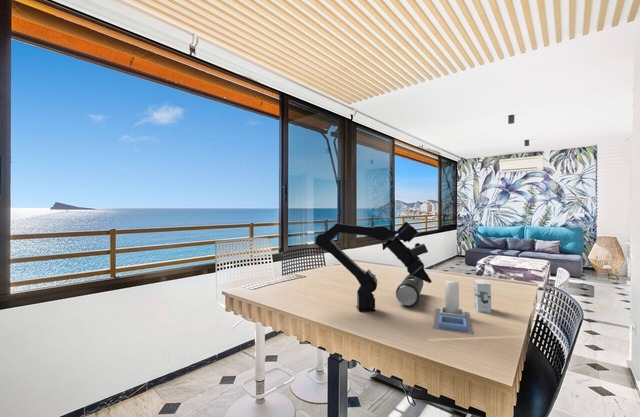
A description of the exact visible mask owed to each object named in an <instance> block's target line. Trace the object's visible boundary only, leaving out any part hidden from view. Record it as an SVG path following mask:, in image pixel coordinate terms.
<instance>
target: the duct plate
mask: <svg viewBox="0 0 640 417" xmlns="http://www.w3.org/2000/svg"><path fill="white" fill-rule="evenodd" d="M472 325H473V324H472V320H471V316H470V312H469V311H465V308H459V314H452V313H445V306H440V308H437V307H436V308H435V314H434V319H433V325H432V329H434V330H439V331H440V330H441V331H446V332H452V333H461V334H467V335H468V334H469V335H474V330H473V326H472Z"/></svg>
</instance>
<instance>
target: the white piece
mask: <svg viewBox="0 0 640 417" xmlns="http://www.w3.org/2000/svg"><path fill="white" fill-rule="evenodd" d="M459 284H460V283H459V281H456V280H445V281H444V294H445V295H444V299H445V302H444V303H445V306H444V307H445V313H452V314H459V309H460V286H459Z"/></svg>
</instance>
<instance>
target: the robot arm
mask: <svg viewBox="0 0 640 417" xmlns="http://www.w3.org/2000/svg"><path fill="white" fill-rule="evenodd" d="M340 233H341V234H342V233H343V234H350V235H358V236H366V237H370V238H372V239H376V240H379V241H385V242H382V244H381V245H382V251H385V250H386V249H388V250H389V251H390V252H391V253H392V254H393V255H394V256H395V258H397V260H399V261H400V262H401V263H402V264H403V266H404V267H405V268H406V270H407V273H408V275H409V274H410V275H412V276H415V277H417V278H419V279H422V280H423V282H426V283H428V284H431V283H432V282H433V280H432V279H431V278H430V276H429V274H428V273H427V271H426V270H425V264H424V263H423V261H422V260H421V259H420V257H419V256H420V255H423V254H427V253H428V252H429V250H428V248H427V246H426V244H425V243H419V242H416V243H415V244H414V247H412V248H410V247H408V246H406V244H404V243H407V242H408V243H410V242H411V241H412V240H413V239H415V238H416V236H417V235H419V234H420V232H419V231H418V230H417V229H416V228H414V226H412V225H411V224H410V223H408V221H404V222H403V224H402V225H401V226H400V227H398V229H397V230H395V229H389V227H387V226H385V225H380V226H379V225H378V226H361V225H355V224H346V223H341V222H337V223H334V224H333V226H331V227H330V228H329V229H328V230H326V231H325V232H323V233H320V234H318V235H317V236H316V237H315V245H317V247H318V248H320V249H321V250H323V251H325V252H327V253H328V254H331V255H332V256H333V257H334V258H335V259H336V260H337V261H338V263H340V264H341V265H342V266H344V268H346V270H347V271H349V273H351V274H352V276H354V278H355V279H356V280H357V282H358V284H359V285H360V286H359V287H358V289H357V291H356V296H357V298H356V303H357V305H356V309H357V310H358V312H375V311H376V298H375V295H374V293H373V292H375V291H376V290H377V287H378V283H379V282H378V279H377V277H376V276H377V275H376V274H374V273H372V271H371V270H370V269H367V271H366V270H364V269H362V268H361V266H359V265H358V264H357V263H356V262H355V261H354V260H353V259H352V258H350V256H348V254H346V253H345V252H344V251H343V250H342V249H341V248H340V247H339V246H338V245H337V243H336V241H335V240H334V239H335V238H336V237H337V236H338V235H340ZM391 237H394V238H392V239H391ZM400 239H401V240H400ZM386 240H387V241H386Z"/></svg>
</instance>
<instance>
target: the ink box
mask: <svg viewBox="0 0 640 417" xmlns="http://www.w3.org/2000/svg"><path fill="white" fill-rule="evenodd" d="M473 281H474V283H473V285H474V287H473V288H474V291H473V292H474V294H473V295H474V296H473V297H474V308H475V310H476V312H477V313H486V314H492V288H491V287H492V285H491V283H490V282H489V280H487V279H474V280H473Z"/></svg>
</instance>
